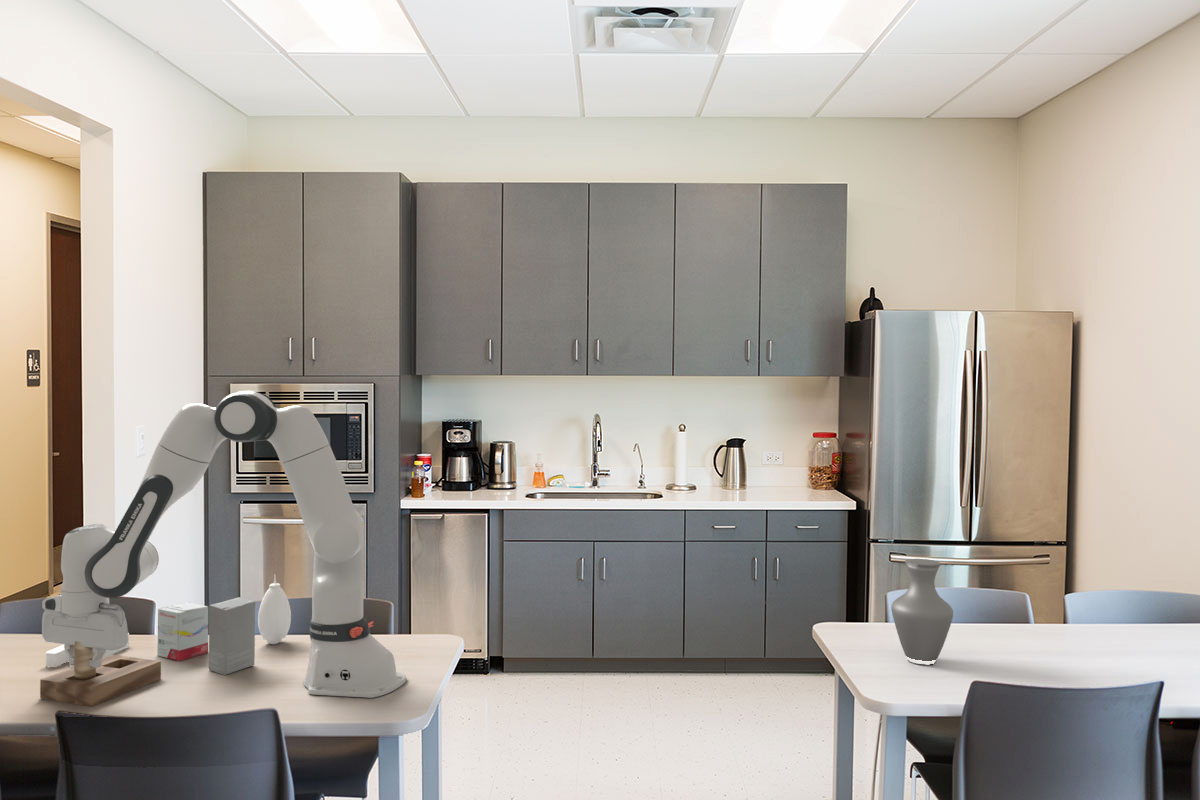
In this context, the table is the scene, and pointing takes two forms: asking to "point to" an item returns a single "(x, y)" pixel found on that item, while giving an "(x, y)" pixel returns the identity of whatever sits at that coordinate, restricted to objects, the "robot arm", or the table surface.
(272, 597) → the white bulb air blower
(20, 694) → the table surface
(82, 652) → the dowel
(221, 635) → the skincare box
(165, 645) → the ink box
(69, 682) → the board
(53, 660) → the white slotted holder
